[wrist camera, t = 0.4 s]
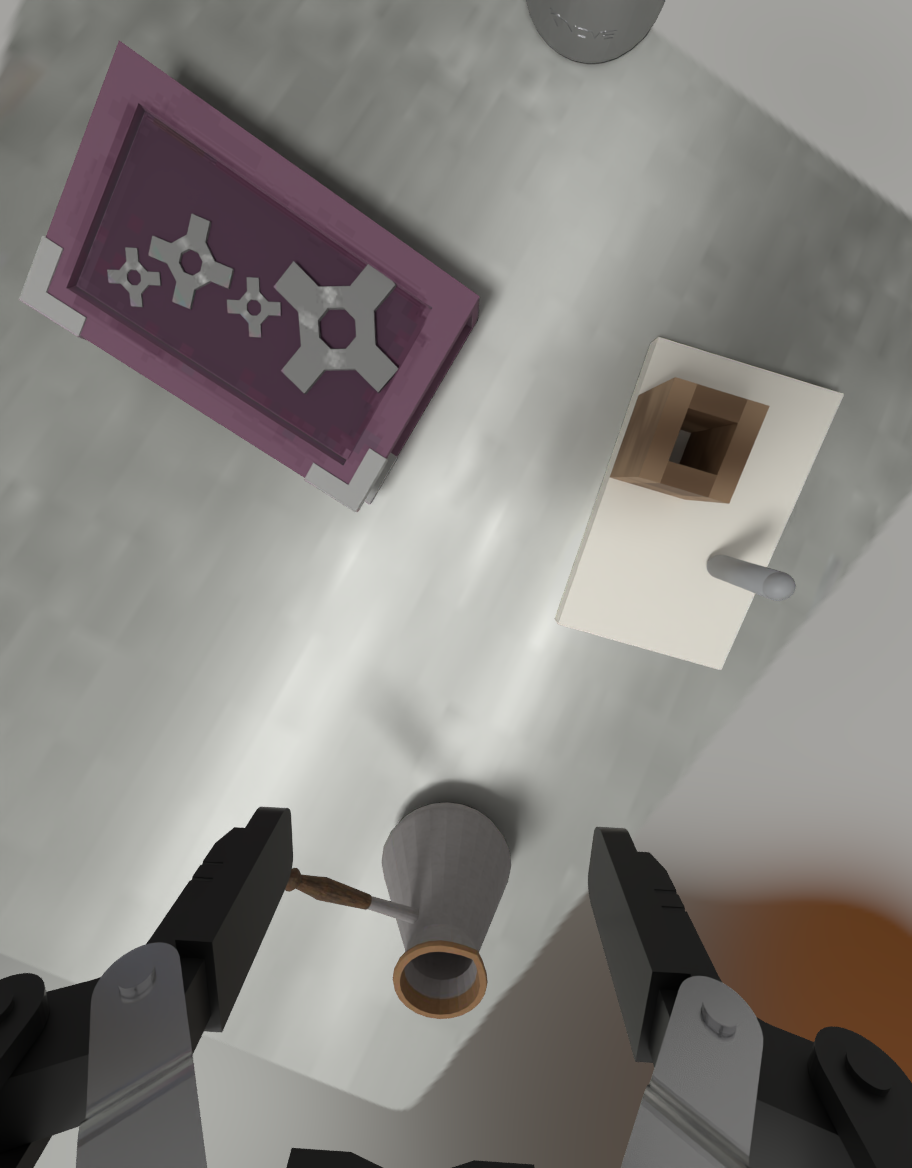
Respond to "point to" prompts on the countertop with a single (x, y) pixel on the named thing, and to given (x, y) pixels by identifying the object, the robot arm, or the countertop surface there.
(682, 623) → the board
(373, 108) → the countertop surface
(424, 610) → the countertop surface
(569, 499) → the countertop surface
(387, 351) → the book
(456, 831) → the coffee pot
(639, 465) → the brown wooden hollow cube
